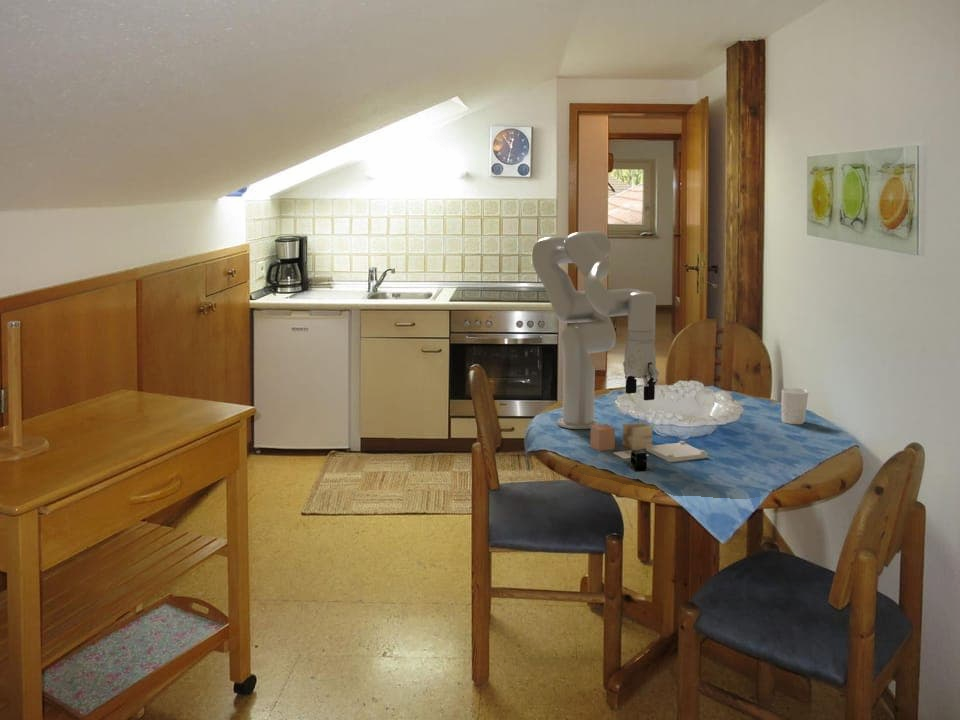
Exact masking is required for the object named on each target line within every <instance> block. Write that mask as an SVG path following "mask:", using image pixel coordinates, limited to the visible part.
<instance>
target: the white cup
mask: <svg viewBox="0 0 960 720" xmlns="http://www.w3.org/2000/svg"><path fill="white" fill-rule="evenodd" d="M808 397H809V391H808V390H807V389H803V388H798V387H797V388H796V387H788V388H787V387H786V388H785V387H784V388H782V389H781V403H780V404H781V407H780V408H781V422H782V423H784V424H789V425H803V424H804V423H805V420H806V413H807V406H808Z"/></svg>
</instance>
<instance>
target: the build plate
mask: <svg viewBox="0 0 960 720" xmlns="http://www.w3.org/2000/svg"><path fill="white" fill-rule="evenodd" d="M645 450H646V451H645V452H648V453H651V454H652V455H654V456H656V457H658V458H660V459H662V460H664V461H666V462H667V463H668V462H669V463H673V462H674V463H675V462H684V461H690V460H692V461H693V460H698V459H699V460H700V459H707V458H708V453H707V452H706V450H703V449H702V450H701V449H699V448H696V447H694V446H693V445H692V446H691V445H690V444H688V443H686V441H684V440H680V441H679V442H675V443H674V442H673V443H665V444H656V445H655V444H649V445H648V446H646V448H645Z"/></svg>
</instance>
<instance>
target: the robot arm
mask: <svg viewBox="0 0 960 720" xmlns="http://www.w3.org/2000/svg"><path fill="white" fill-rule="evenodd" d="M611 249H612V244H611V241H610V238H609V237H608V235H607V234H605V233H603V232H602V231H576V232H573V233H571V234H569V235H558V236H557V235H555V236H546V237H543V238H540V239H538V240H537V241H536V242H535V243H534V245H533V248H532V252H531V259H532V261H531V262H532V266H533V269H534V271H535V273H536V275H537V277H538V278H539V280H540V282H541V283H542V285H543V287H544V289H545V292H546V295H547V298H548V299H549V301H550V304H551V307H552V310H553V312H554V315H555V317H556V319H557V320H558V322H561V323H563V324H564V323H565V324H569V325H567V326H565V327H564V328H563V329H562V331H561V334H560V344H561V350H562V359H563V360H562V362H563V377H562V379H563V380H562V381H563V383H562V388H563V389H562V408H561V409H560V411H561V412H562V417H560V418H558V419H557V425H558V426H559V427H562V428H565V429H569V430H570V429H572V430H591V426H594V425H600V423H599V422H600V421H599V420H598V419H596V418H594V414H595V383H596V382H595V378H596V371H595V370H596V368H595V364H594V362H593V360H592V359H591V356H590V355H591V354H595V353H603V352H608V351H610V350H612V349H613V348H614V347H615V345H616V342H617V334H616V330H615V327H614V324H613V321H612V320H611V317H620V316H621V317H622V316H627V340H626V344H625V348H624V349H625V350H624V361H623V363H622V365H623V373H624V378H625V394H628V395H629V394H636V393H637V384H638V383H637V379H642V380H643V383H644V386H643V400H644V401H654V400H655V399H656V398H655V396H656V395H655V394H656V393H655V391H656V389H655V388H656V386H657V382H658V378H659V375H660V372H659V371H658V370H657V368H656V367H657V365H656V363H657V361H656V360H657V359H656V346H655V341H656V311H657V309H656V305H657V296H656V294H655V293H654V292H652V291H645V290H644V291H643V290H639V289H637V288H616V289H614V288H613V289H607V288H606V287H605V286H604V285H603V284H602V281H603V280H604V279H605V278H606V277H607V276H609V273H610V272H611V269H612V264H611V261H610V259H609V258H608V256H609V255H610V253H611ZM559 264H574V265H575V266H576V268H577V269H578V270H579V271H580V273H581V274H582V276H584V278H585V279H584V290H577V289H576V288H575V286H574V284H573V281H572V278H571V277H570V275H569V274H568V273H567V272H566V271H565V270H564V269H563V268H562V267H561V266H559Z"/></svg>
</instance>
